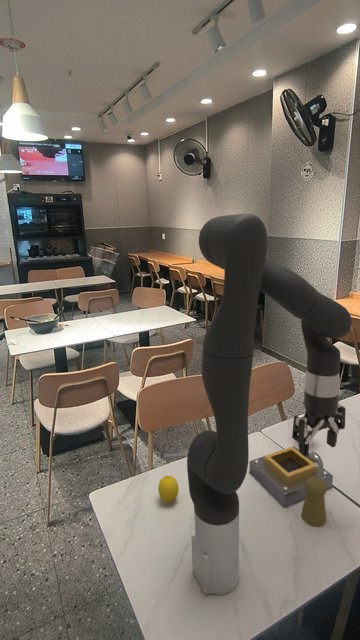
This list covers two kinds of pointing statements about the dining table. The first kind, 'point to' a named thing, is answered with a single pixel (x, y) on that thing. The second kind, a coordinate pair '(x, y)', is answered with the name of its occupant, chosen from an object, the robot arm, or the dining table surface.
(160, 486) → the lemon
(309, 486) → the olive pestle shaped cylinder
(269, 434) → the dining table surface
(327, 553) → the dining table surface
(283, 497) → the square socket fixture
